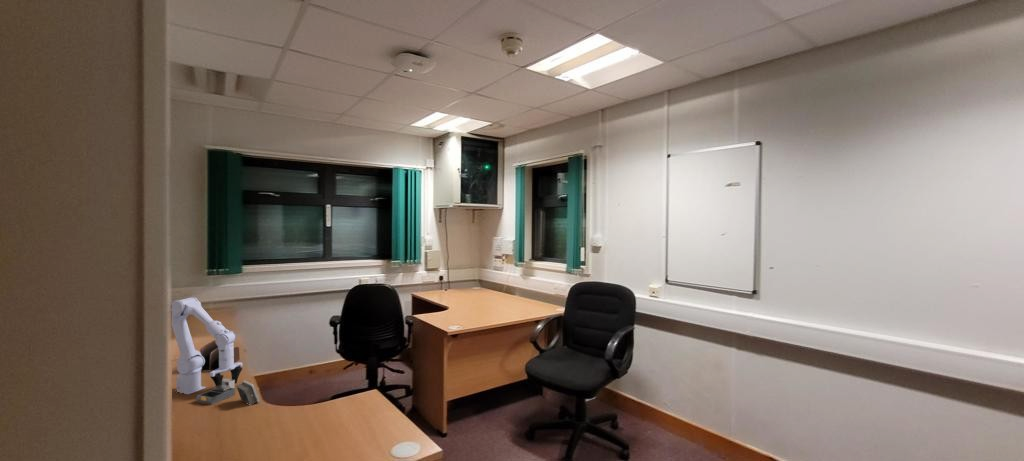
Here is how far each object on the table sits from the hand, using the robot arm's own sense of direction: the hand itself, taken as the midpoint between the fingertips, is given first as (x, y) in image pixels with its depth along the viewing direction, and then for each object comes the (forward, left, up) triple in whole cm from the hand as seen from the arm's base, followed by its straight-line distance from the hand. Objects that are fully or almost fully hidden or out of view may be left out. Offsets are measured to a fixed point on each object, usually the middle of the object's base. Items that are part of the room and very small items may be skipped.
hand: (227, 386), depth 189 cm
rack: (+4, -8, -2) cm, 9 cm away
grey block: (0, 0, -2) cm, 2 cm away
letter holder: (-36, +24, -3) cm, 44 cm away
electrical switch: (+22, -7, -2) cm, 23 cm away
